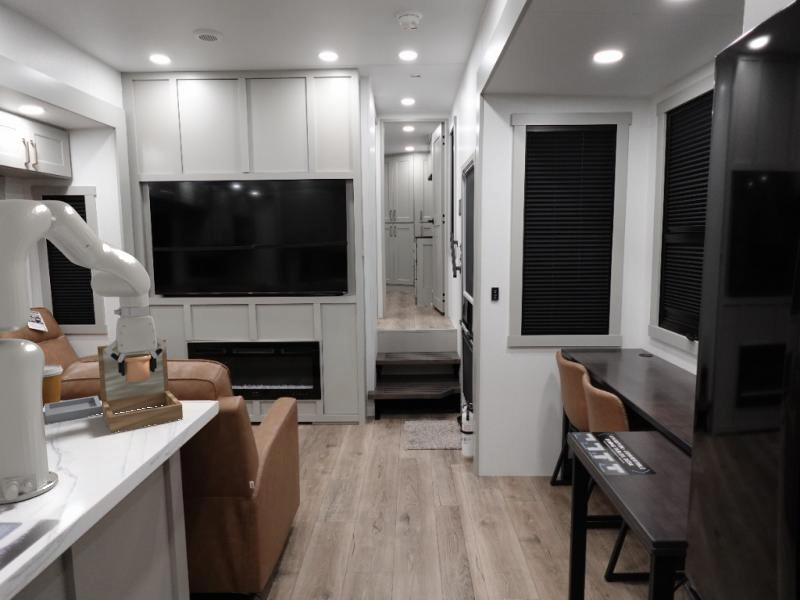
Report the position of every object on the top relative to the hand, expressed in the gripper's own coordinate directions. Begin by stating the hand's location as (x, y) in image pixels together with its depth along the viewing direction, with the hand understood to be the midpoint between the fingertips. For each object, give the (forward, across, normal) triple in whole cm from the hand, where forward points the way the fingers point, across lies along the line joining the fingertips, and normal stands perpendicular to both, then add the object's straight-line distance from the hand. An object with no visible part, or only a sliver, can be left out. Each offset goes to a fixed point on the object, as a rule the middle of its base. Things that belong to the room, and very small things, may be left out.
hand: (138, 372), depth 145 cm
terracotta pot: (+2, 0, 0) cm, 2 cm away
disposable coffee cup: (+14, -21, +35) cm, 43 cm away
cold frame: (+14, +1, +1) cm, 14 cm away
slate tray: (+14, -15, +19) cm, 28 cm away
